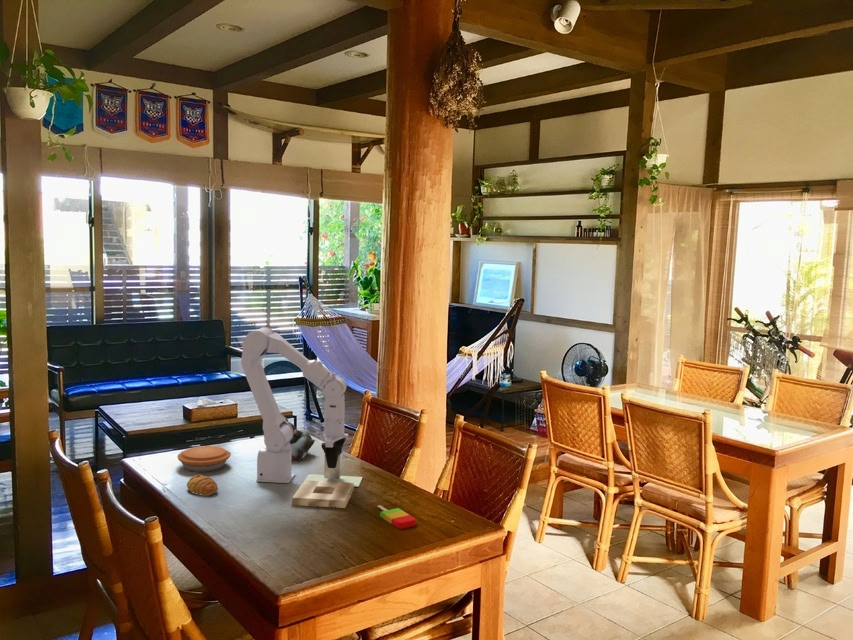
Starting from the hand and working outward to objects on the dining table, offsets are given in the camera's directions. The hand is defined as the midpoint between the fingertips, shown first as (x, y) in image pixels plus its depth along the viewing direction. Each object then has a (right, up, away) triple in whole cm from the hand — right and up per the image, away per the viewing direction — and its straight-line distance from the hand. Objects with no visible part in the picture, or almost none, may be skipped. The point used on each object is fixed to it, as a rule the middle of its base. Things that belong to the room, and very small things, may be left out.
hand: (333, 465), depth 205 cm
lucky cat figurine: (-17, -2, +23) cm, 29 cm away
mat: (0, -5, +1) cm, 5 cm away
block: (0, -3, 0) cm, 3 cm away
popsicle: (+18, -9, -25) cm, 32 cm away
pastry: (-34, -5, -10) cm, 36 cm away
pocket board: (-1, -6, -12) cm, 14 cm away
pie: (-41, -3, +11) cm, 42 cm away
